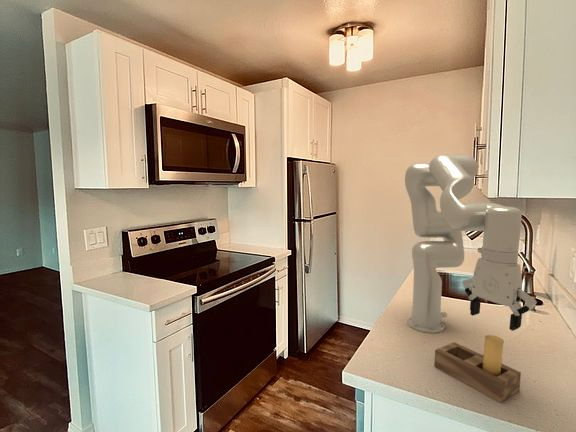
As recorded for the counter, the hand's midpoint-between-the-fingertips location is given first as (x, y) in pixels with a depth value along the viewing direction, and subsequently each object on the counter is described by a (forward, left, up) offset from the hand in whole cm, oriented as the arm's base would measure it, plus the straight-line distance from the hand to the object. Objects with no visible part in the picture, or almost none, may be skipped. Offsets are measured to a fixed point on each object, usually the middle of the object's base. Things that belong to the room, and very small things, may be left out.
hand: (493, 321), depth 84 cm
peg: (0, 0, -16) cm, 16 cm away
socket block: (0, -4, -17) cm, 18 cm away
